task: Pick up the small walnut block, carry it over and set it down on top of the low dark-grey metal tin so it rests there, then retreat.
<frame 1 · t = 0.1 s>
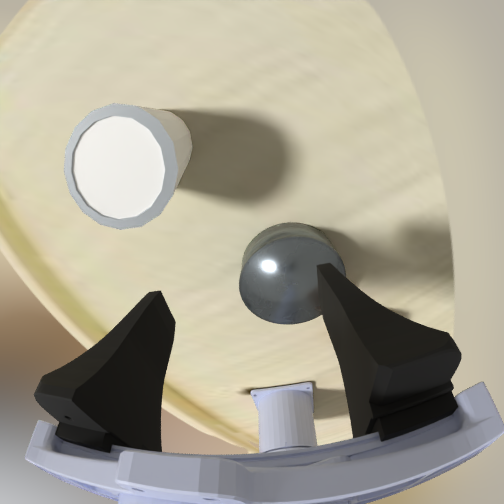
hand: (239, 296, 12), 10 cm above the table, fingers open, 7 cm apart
grey and white cylinder: (156, 146, 19), on the table
tin: (289, 264, 24), on the table
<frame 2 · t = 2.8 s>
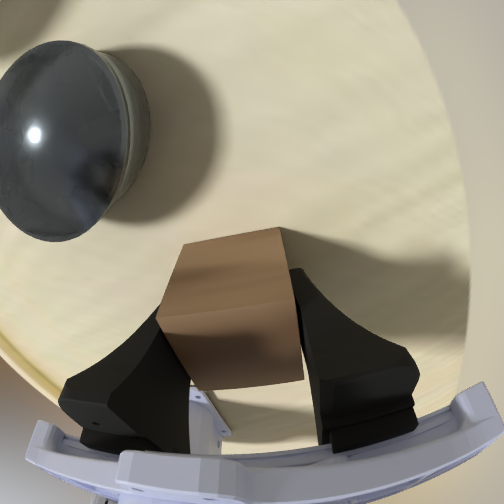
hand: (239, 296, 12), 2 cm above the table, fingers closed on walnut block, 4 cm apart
tin: (75, 133, 10), on the table
walnut block: (240, 275, 14), on the table, touching gripper
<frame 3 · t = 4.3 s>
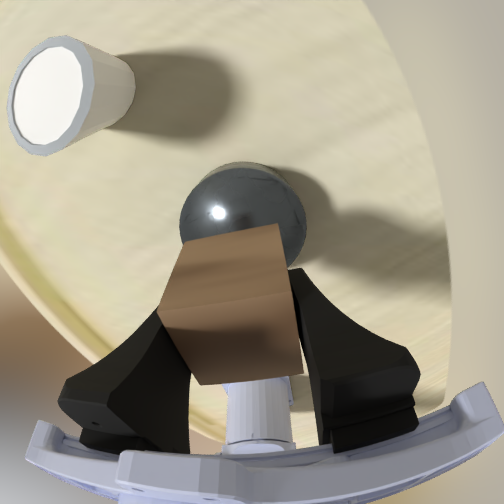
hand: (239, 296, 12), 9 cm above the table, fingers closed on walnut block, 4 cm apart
grey and white cylinder: (103, 92, 16), on the table
tin: (243, 214, 21), on the table
walnut block: (241, 272, 14), point 7 cm above the table, touching gripper
when the fingers open (6 cm above the table, at t = 6.1 s): walnut block stays where it is, point 3 cm above the table.
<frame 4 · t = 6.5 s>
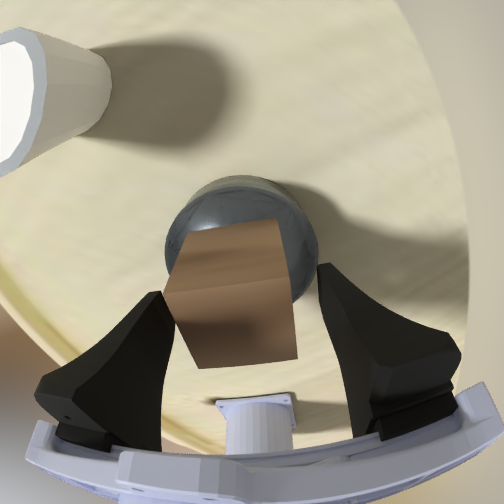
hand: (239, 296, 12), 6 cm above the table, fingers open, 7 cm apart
grey and white cylinder: (76, 92, 12), on the table
tin: (242, 236, 18), on the table
walnut block: (239, 263, 15), point 3 cm above the table
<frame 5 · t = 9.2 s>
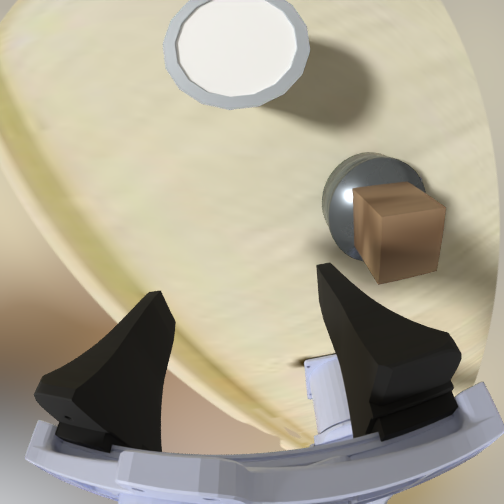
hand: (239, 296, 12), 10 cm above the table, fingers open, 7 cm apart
grey and white cylinder: (240, 63, 16), on the table
tin: (367, 199, 21), on the table, touching walnut block
walnut block: (381, 213, 19), point 3 cm above the table, touching tin
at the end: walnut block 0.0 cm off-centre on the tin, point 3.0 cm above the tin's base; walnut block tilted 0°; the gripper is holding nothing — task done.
